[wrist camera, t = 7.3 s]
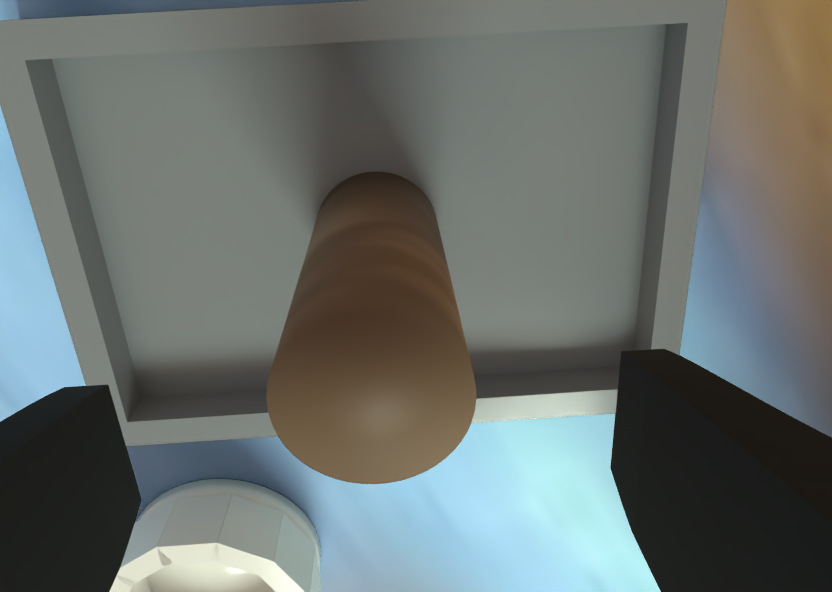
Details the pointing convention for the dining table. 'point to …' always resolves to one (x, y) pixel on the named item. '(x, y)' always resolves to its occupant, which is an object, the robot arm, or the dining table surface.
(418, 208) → the dowel
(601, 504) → the dining table surface
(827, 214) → the dining table surface
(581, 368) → the tray
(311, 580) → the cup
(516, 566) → the dining table surface
